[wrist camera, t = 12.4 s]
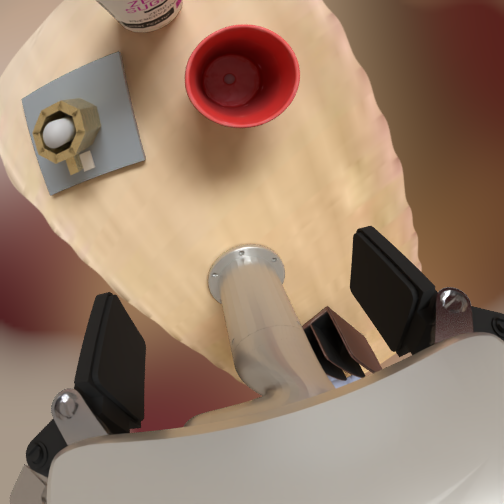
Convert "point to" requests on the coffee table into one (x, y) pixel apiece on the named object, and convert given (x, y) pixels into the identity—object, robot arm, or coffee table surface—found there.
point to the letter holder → (339, 346)
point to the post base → (110, 113)
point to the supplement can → (142, 13)
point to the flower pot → (242, 76)
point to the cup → (85, 128)
